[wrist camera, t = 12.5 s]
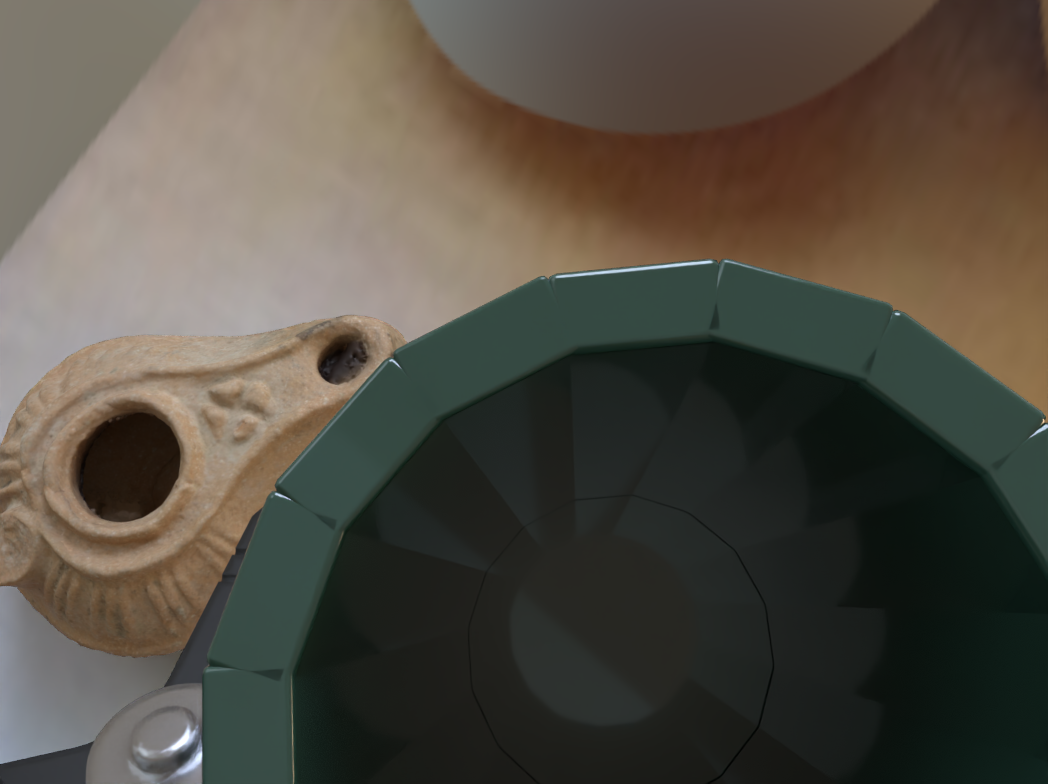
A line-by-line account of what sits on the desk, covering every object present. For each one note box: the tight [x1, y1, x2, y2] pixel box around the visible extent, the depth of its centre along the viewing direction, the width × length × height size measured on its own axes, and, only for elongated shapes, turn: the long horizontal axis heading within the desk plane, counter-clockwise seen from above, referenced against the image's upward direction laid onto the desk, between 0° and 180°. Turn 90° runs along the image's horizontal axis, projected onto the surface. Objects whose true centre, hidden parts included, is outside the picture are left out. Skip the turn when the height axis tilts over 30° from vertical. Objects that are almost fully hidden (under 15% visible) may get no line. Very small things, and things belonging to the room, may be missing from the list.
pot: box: [202, 259, 1048, 784], centre depth 10 cm, size 6×6×10 cm
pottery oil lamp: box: [0, 315, 407, 658], centre depth 25 cm, size 9×12×7 cm
